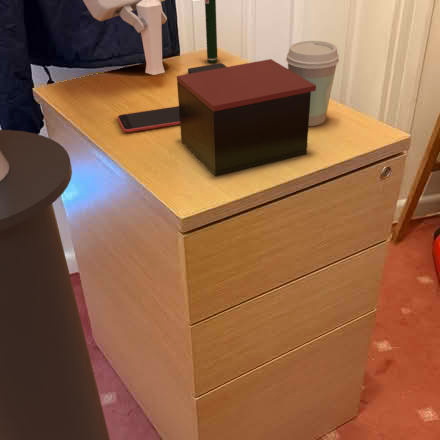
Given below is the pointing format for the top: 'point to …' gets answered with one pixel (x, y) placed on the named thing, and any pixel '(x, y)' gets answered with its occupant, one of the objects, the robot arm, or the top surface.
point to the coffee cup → (315, 73)
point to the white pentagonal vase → (152, 35)
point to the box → (244, 131)
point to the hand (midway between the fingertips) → (153, 26)
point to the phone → (206, 68)
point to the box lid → (244, 84)
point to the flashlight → (211, 30)
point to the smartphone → (149, 119)
